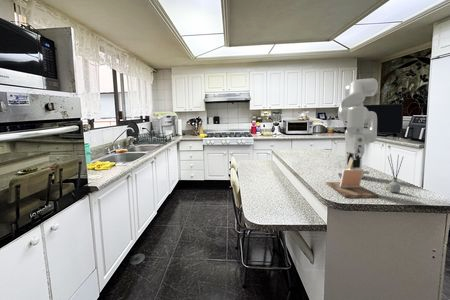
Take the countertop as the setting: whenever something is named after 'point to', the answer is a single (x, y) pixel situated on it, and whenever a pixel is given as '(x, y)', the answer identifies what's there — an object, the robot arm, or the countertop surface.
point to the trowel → (348, 166)
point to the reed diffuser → (394, 180)
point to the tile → (351, 178)
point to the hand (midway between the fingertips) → (353, 165)
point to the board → (352, 191)
